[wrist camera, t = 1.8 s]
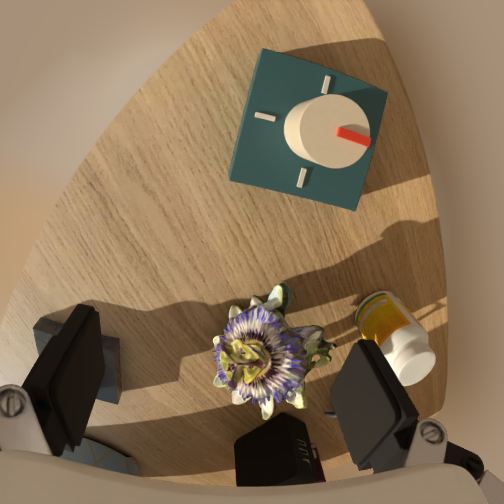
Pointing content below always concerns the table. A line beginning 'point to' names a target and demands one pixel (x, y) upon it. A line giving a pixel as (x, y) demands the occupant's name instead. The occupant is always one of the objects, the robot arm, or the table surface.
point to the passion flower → (267, 353)
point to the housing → (112, 376)
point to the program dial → (328, 131)
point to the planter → (102, 458)
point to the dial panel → (273, 139)
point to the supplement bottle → (396, 336)
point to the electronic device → (275, 455)
